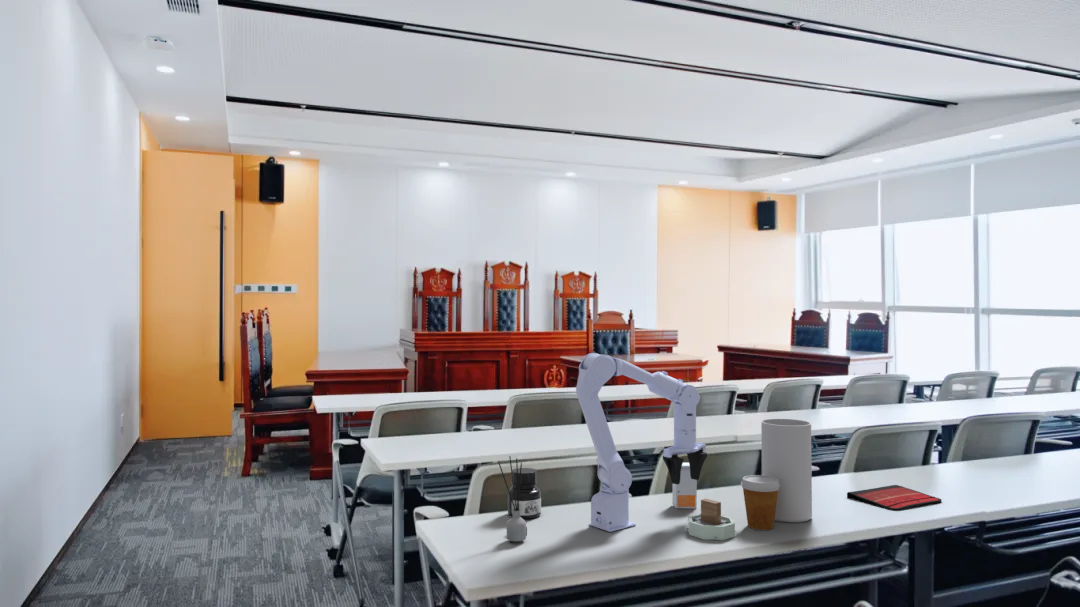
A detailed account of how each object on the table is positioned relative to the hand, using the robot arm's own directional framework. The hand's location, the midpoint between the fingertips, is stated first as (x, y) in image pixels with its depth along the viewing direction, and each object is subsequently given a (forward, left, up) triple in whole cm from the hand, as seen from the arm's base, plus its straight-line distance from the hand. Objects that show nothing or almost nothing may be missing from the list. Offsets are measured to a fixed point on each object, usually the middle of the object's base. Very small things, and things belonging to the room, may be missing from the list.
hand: (685, 481), depth 186 cm
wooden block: (-4, -12, -9) cm, 15 cm away
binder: (+62, -25, -11) cm, 68 cm away
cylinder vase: (+23, -15, -10) cm, 29 cm away
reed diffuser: (-46, +14, -10) cm, 49 cm away
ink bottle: (-31, +29, -10) cm, 44 cm away
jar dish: (-4, -12, -10) cm, 16 cm away
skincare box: (+9, +8, -10) cm, 16 cm away
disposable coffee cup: (+10, -16, -10) cm, 21 cm away
